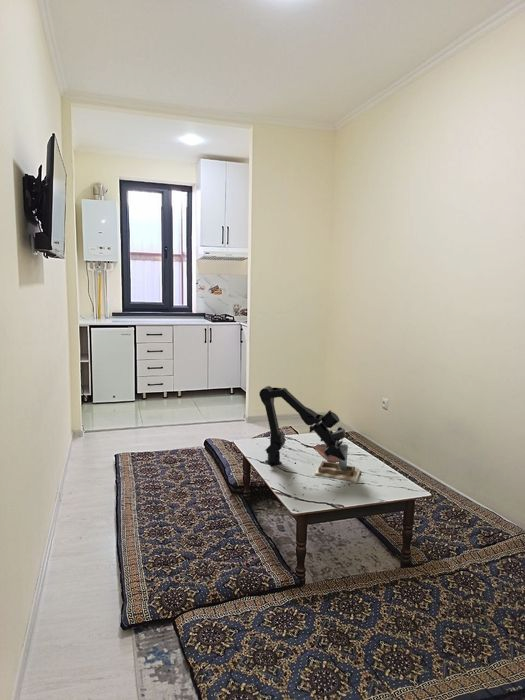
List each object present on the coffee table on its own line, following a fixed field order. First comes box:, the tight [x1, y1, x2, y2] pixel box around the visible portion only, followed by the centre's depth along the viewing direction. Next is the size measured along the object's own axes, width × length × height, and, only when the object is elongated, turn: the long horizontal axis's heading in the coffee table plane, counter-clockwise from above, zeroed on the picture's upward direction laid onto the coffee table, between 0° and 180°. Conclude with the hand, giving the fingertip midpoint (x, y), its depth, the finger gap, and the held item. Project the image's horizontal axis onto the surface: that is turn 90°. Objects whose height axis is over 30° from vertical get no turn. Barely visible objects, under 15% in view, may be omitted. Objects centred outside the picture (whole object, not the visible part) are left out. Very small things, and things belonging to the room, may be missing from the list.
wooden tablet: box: [313, 443, 339, 463], centre depth 256 cm, size 26×2×10 cm
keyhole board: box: [314, 460, 362, 483], centre depth 230 cm, size 20×13×3 cm, turn 71°
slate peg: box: [337, 443, 349, 470], centre depth 229 cm, size 4×4×13 cm
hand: (345, 458), depth 228 cm, fingers closed on slate peg, 4 cm apart
